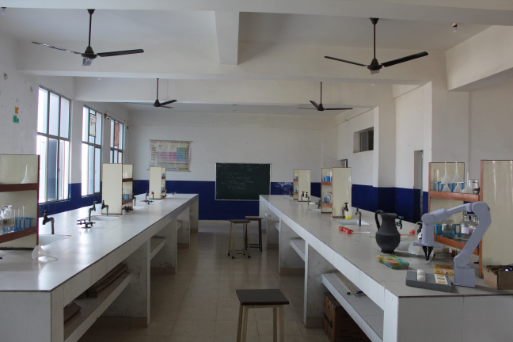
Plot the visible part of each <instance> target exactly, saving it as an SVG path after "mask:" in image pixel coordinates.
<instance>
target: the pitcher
mask: <svg viewBox="0 0 513 342" xmlns="http://www.w3.org/2000/svg"><path fill="white" fill-rule="evenodd" d="M378 215H380V218H381V223H380V220H379V217H378ZM397 218H398V214H397V213H394V212H392V213H391V212H385V211H384V210H382V209H378V210H376V211H375V212H374V221H375V225H376V228H377V231H376V232H375V238H374V239H375V242H376V245H377V246H378V247H379V248H380V252H381V253H382V252H383V253H382V254H387V253H391V254H390V255H393V254H392V253H394V254H396V252H395V250H396V249H397V248H399V246H400V244H401V233H400V231H399V229H398V227H397V224H396V219H397Z"/></svg>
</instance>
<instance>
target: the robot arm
mask: <svg viewBox="0 0 513 342" xmlns="http://www.w3.org/2000/svg"><path fill="white" fill-rule="evenodd" d="M463 212H469V213H471V212H473V213H474V214H475V216H476V217H477V219H478V221H479V222H478V224H477V225H476V227H475V228H474V230H473V232H472V233H471V235H470V237H469V238H468V240H467V241H466V243H465V244H464V246H463V248H462V249H461V250H460V252H459V253H458V254H457V255H455V256H454V257H453V279H452V280H451V282H452V284H453V286H462V287H469V288H476V285H475V284H476V271H475V268H473V267H471V266H470V265H469V263H470V262H471V256H472V255H473V253H474V251H475V249H476V248H477V246H478V245H479V244H480V242H481V240H482V239H483V237H484V235H485V234H486V232H487V231H488V230H489V227H490V226H491V224H492V214H491V208H490V207H489V205H488V203H487V202H485V201H483V200H480V201H479V200H478V201H476V202H467V203H464V204H460V205H457V206H455V207H451V208H449V209H447V208H444V207H443V208H442V207H439V208H438V209H435V210H434V211H432V210H431V211H429V212H428V213H427V212H426V213H424V214H422V216H421V219H420V220H421V221H422V230H421V241H413V243H412V246H413V247H421V248H422V251H423V253H424V257H425V261H427V262H429V260H430V257H431V255H432V252H433V250H434V248H435V249H443V248H444V247H443V246H444V244H441V243H440V244H439V243H434V242H435V241H434V240H435V238H434V237H435V227H434V226H435V224H434V223H439V222H441V221H444V220H448V219H449V218H450V216H452V215H456V214H459V213H460V214H461V213H463Z"/></svg>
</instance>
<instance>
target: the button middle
mask: <svg viewBox="0 0 513 342" xmlns="http://www.w3.org/2000/svg"><path fill="white" fill-rule="evenodd" d="M422 270H423V269H421V270H418V269H416V272H417V275H422V276H425V275H426V273H427V271H426V270H425V271H422Z"/></svg>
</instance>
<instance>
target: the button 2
mask: <svg viewBox="0 0 513 342" xmlns="http://www.w3.org/2000/svg"><path fill="white" fill-rule="evenodd" d="M417 281H424V282H426V277H425V276H422V275H417Z"/></svg>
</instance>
